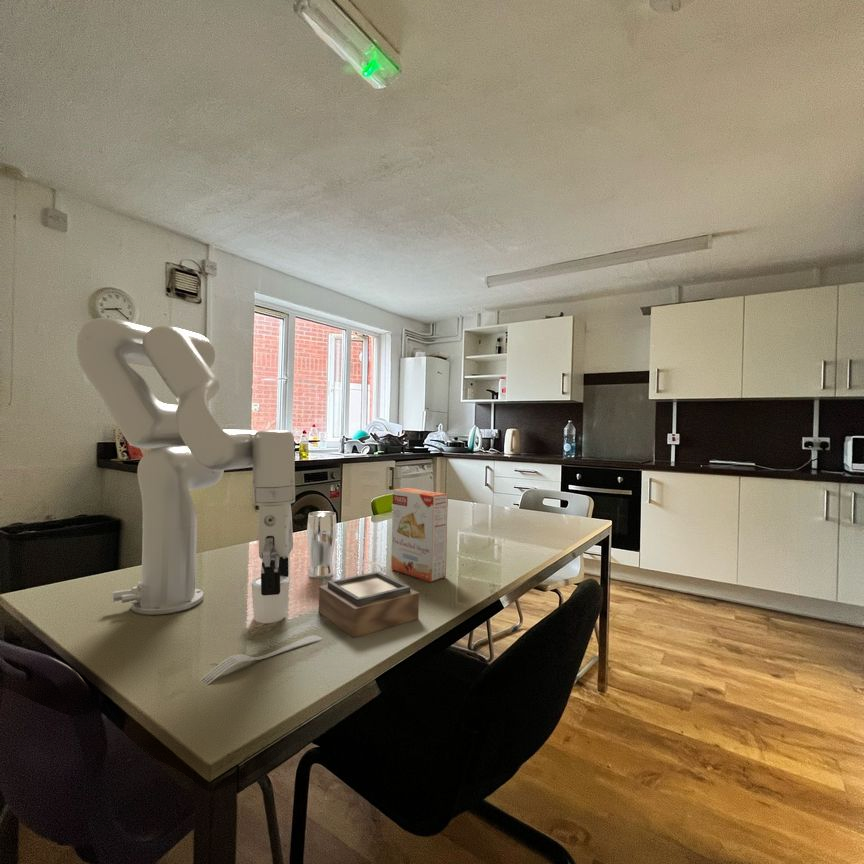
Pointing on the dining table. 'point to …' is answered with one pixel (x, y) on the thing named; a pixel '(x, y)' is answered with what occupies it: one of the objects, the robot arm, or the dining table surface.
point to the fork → (242, 658)
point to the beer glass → (321, 543)
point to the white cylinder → (270, 602)
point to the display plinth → (368, 603)
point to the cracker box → (419, 533)
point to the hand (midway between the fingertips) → (275, 585)
